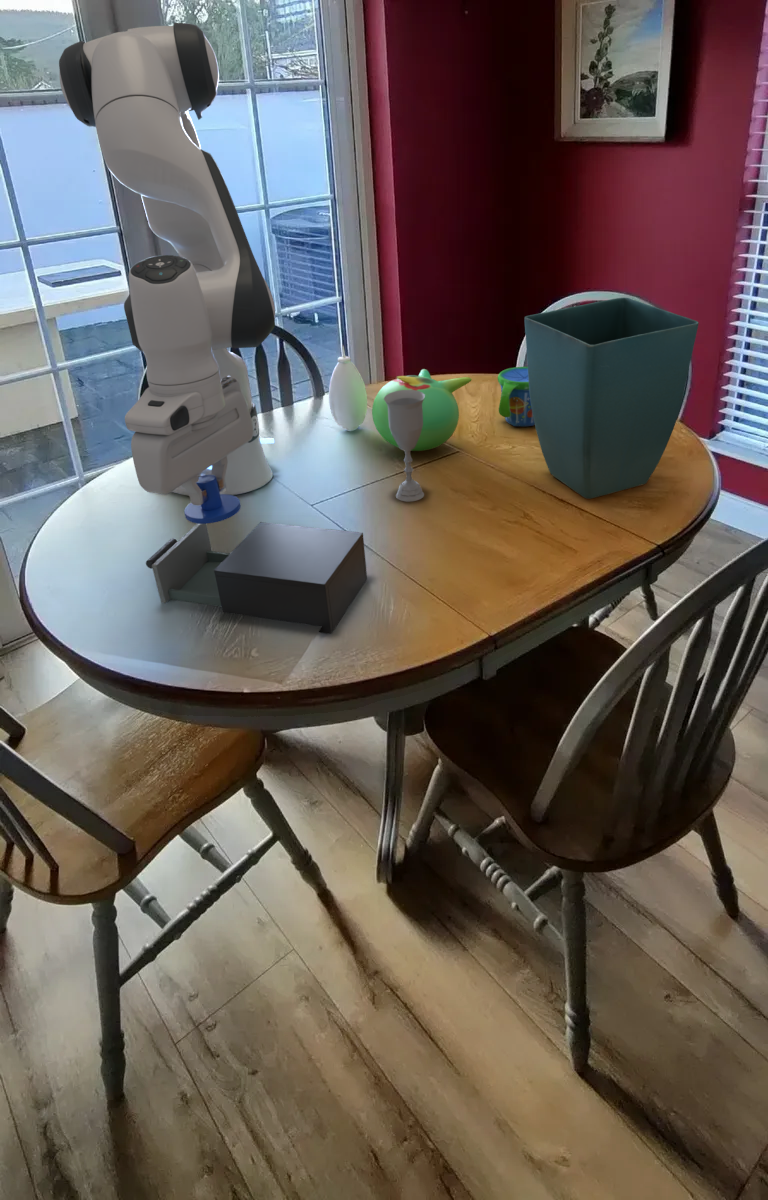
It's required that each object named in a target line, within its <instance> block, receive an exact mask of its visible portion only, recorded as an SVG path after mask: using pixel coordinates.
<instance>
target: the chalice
mask: <svg viewBox="0 0 768 1200" xmlns="http://www.w3.org/2000/svg"><path fill="white" fill-rule="evenodd" d="M424 398H425V395H424V394H423V393H422V392H420V391H416V390H400V391H395V392H392V393H390V394H388V395H386V396H385V397H384V400H385V402H386V404H387V405H388V420H389V428H390V431H391V433H392V435H393V438H394V439H395V441H396V443H397V445H398V446H399V449H400V450H401V451H403V452H404V454H405V455H404V459H403V462H404V464H405V468H404V469H403V472H404V473H405V475H406V478H405V479H404V481H402V482H401V483H400V484H399V486H398V488H397V492H396V494H395V497H396V499H397V500H399V501H401V502H415V501H419V500H421V499H422V498H424V497H425V492H424V491H423V489H422V487H421V484H420V483H419V482H418V481H417V480H415V479H413V477H412V475H413V474H412V473H413V472H414V468H413V466H412V462H413V458H412V455H411V450H412V449H414V448H415V446H416V444H417V442H418V439H419V437H420V434H421V430H422V427H423V410H422V402H423V400H424Z"/></svg>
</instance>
